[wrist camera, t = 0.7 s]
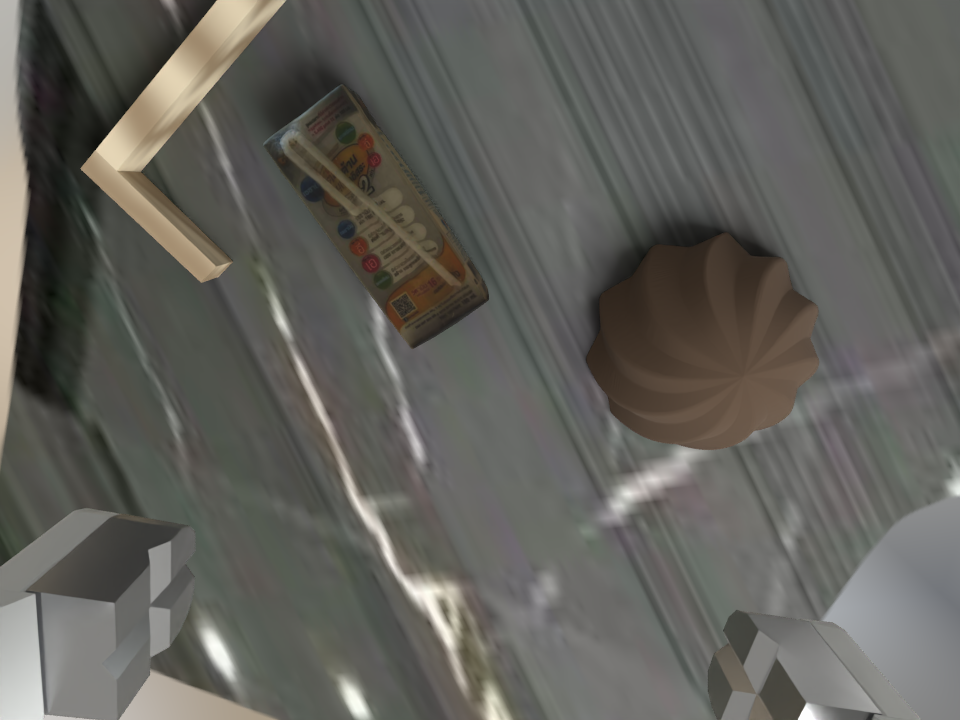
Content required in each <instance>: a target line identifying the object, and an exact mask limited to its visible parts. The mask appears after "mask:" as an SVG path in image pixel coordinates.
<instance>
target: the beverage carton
mask: <svg viewBox="0 0 960 720" xmlns="http://www.w3.org/2000/svg"><path fill="white" fill-rule="evenodd" d="M263 147H264V148H265V149H266V150H267V152H268V153H269V154H270V156H271V157H272V159H273V160H274V162H275V163H276V165H277V166H278V168H279V169H280V171H281V173H282V174H283V175H284V176H285V178H286V179H287V180H288V181H289V183H290V184H291V186H292V187H293V189H294V190H295V191H296V193H297V194H298V196H299V197H300V199H301V200H302V201H303V203H304V204H305V205H306V207H307V208H308V209H309V211H310V212H311V214H312V215H313V216H314V218H315V219H316V221H317V222H318V223H319V225H320V226H321V227H322V229H323V230H324V232H325V233H326V234H327V236H328V237H329V239H330V240H331V241H332V243H333V244H334V245H335V247H336V248H337V250H338V251H339V253H340V254H341V255H342V257H343V258H344V259H345V261H346V262H347V264H348V265H349V266H350V268H351V269H352V270H353V272H354V273H355V275H356V276H357V277H358V279H359V280H360V281H361V283H362V284H363V285H364V287H365V288H366V290H367V291H368V292H369V294H370V295H371V296H372V298H373V299H374V300H375V302H376V303H377V304H378V306H379V307H380V308H381V310H382V311H383V312H384V314H385V315H386V317H387V318H388V319H389V321H390V322H391V323H392V324H393V325H394V327H395V328H396V329H397V331H398V332H399V333H400V335H401V336H402V337H403V339H404V340H405V341H406V342H407V344H408V345H409V346H410V348H411V349H414V348H416V347H417V346H419V345H421V344H423V343H425V342H426V341H428V340H430V339H432V338H433V337H435V336H437V335H438V334H440V333H442V332H443V331H445V330H446V329H448V328H449V327H451V326H452V325H454V324H456V323H457V322H459V321H460V320H462V319H463V318H464V317H466V316H467V315H469V314H470V313H472V312H473V311H474V310H476V309H477V308H479V307H480V306H481V305H483V304H484V303H486V302H487V301H488V300H489V294H488V289H487V286H486V284H485V282H484V281H483V279H482V278H481V276H480V274H479V272H478V271H477V269H476V268H475V266H474V265H473V263H472V262H471V260H470V258H469V257H468V256H467V254H466V252H465V251H464V249H463V248H462V246H461V245H460V243H459V242H458V240H457V239H456V237H455V236H454V234H453V233H452V231H451V230H450V228H449V227H448V225H447V224H446V222H445V221H444V220H443V218H442V216H441V215H440V213H439V212H438V210H437V209H436V208H435V206H434V205H433V203H432V202H431V200H430V199H429V197H428V196H427V194H426V193H425V191H424V190H423V188H422V187H421V185H420V184H419V182H418V181H417V179H416V178H415V176H414V175H413V174H412V172H411V171H410V169H409V168H408V167H407V165H406V164H405V162H404V161H403V160H402V158H401V157H400V155H399V154H398V153H397V151H396V150H395V149H394V147H393V146H392V144H391V143H390V141H389V140H388V139H387V137H386V136H385V135H384V133H383V132H382V131H381V130H380V129H379V128H378V126H377V125H376V123H375V121H374V120H373V118H372V116H371V115H370V113H369V111H368V110H367V108H366V106H365V105H364V103H363V101H362V99H361V98H360V97H359V96H358V95H357V94H356V93H355V92H353V91H351V90H349V89H348V88H347V87H346V86H345V85H343V84H341V85H339V86H338V87H336V88H335V89H334V90H332V91H331V92H330V93H328V94H327V95H326V96H324V97H323V98H322V99H321V100H319V101H318V102H317V103H316V104H314V105H313V106H312V107H311V108H309V109H308V110H307V111H306V112H304V113H303V114H302V115H300V116H299V117H297V118H296V119H294V120H293V121H292V122H290V123H289V124H288V125H286V126H285V127H283V128H282V129H280V130H279V131H278V132H277V133H275V134H274V135H272V136H271V137H270V138H269V139H267V140H266V141H265V142H264V144H263Z"/></svg>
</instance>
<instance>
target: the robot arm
mask: <svg viewBox="0 0 960 720" xmlns="http://www.w3.org/2000/svg"><path fill="white" fill-rule="evenodd" d="M194 552H195V531H194V530H193V529H192V528H191V527H190V526H188V525H183V524H177V523H172V522H166V521H160V520H155V519H149V518H143V517H138V516H132V515H126V514H117V513H113V512H107V511H101V510H95V509H89V508H84V509H80V510H75V511H73V512H72V513H70V514H69V515H68V516H66V517H65V518H64V519H62V520H61V521H60V522H59V523H57V524H56V525H55V526H53V527H52V528H51V529H49V530H48V531H47V532H45V533H44V534H43V535H42V536H40V537H39V538H38V539H36V540H35V541H34V542H32V543H31V544H30V545H28V546H27V547H26V548H25V549H23V550H22V551H21V552H19V553H18V554H17V555H15V556H14V557H13V558H11V559H10V560H9V561H8V562H6V563H5V564H4V565H2V566H1V567H0V720H43V719H44V714H45V715H55V716H65V717H76V718H86V719H96V720H119V719H120V717H121V715H122V714H123V713H124V711H125V710H126V708H127V707H128V706H129V704H130V703H131V701H132V700H133V698H134V697H135V696H136V694H137V692H138V691H139V690H140V688H141V687H142V686H143V684H144V682H145V681H146V679H147V678H148V677H149V675H150V657H152V656H154V655H156V654H157V653H159V652H161V651H163V650H164V649H166V648H168V647H169V646H170V645H171V643H172V642H173V640H174V639H175V637H176V636H177V634H178V633H179V631H180V630H181V628H182V626H183V623H184V621H185V619H186V616H187V614H188V612H189V609H190V606H191V602H192V597H193V593H194V578H195V576H194V575H193V574H192V572H191V571H190V569H189V568H188V567H187V565H186V564H185V563H186V562H187V561H188V559H189V558H190V557H191V556H192V554H193V553H194ZM723 631H724V634H725V636H726V639H727V641H728V644H727V645H725V646H724V647H722V648H721V649H720V650H718V651H717V652H715V653H714V655H713V658H712V661H711V664H710V667H709V670H708V693H709V698H710V702H711V706H712V709H713V711H714V713H715V716H716V718H717V720H921V719H920V718H919V717H918V715H917V714H916V713H915V712H914V711H913V710H912V708H911V707H910V706H909V705H908V704H907V702H906V701H905V700H904V699H903V698H902V697H901V695H900V694H899V693H898V692H897V691H896V690H895V688H894V687H893V686H892V685H891V684H890V683H889V681H888V680H887V679H886V678H885V677H884V676H883V674H882V673H881V672H880V671H879V670H878V669H877V667H876V666H875V665H874V664H873V663H872V662H871V660H870V659H869V658H868V657H867V656H866V655H865V653H864V652H863V651H862V650H861V649H860V647H859V646H858V645H857V644H856V643H855V642H854V641H853V639H852V638H851V637H850V636H849V635H848V634H847V632H846V631H845V630H844V629H842V628H841V627H839V626H837V625H836V624H834V623H832V622H824V621H816V620H808V619H793V618H786V617H780V616H773V615H766V614H759V613H753V612H746V611H739V610H736V611H735V612H734V613H733V614H732V615H731V616H730V617H729V618H728V620H727V623H726V625H725V627H724V630H723Z"/></svg>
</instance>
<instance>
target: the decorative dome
mask: <svg viewBox="0 0 960 720" xmlns="http://www.w3.org/2000/svg"><path fill="white" fill-rule="evenodd" d="M599 312H600V332H599V333H598V335H597V337H596V339H595V341H594V343H593V345H592V347H591V349H590V351H589V353H588V355H587V358H586V361H587V364H588V366H589V368H590V370H591V373H592V374H593V376H594V378H595V380H596V381H597V383H598V384H599V386H600V387H601V389H602V390H603V391H604V392H605V393H606V394H607V395H608V399H609V405H610V411H611V413H612V414H613V415H614V416H615V417H616V418H617V419H618V420H619V421H620V422H622V423H623V424H624V425H625V426H627V427H628V428H630V429H631V430H632V431H634V432H636V433H637V434H639V435H641V436H643V437H645V438H648V439H650V440H654V441H657V442H662V443H669V444H678V445H681V446H685V447H689V448H694V449H702V450H715V449H722V448H727V447H730V446H733V445H735V444H738V443H740V442H742V441H743V440H745V439H746V438H747V437H748V436H749V435H750V434H751V433H752V432H753V431H756V430H761V429H764V428H768V427H771V426H773V425H775V424H777V423H779V422H780V421H782V420H783V419H785V418H786V417H787V416H788V415H789V414H790V412H791V411H792V409H793V406H794V401H795V397H796V393H797V389H798V388H799V387H800V386H801V385H802V384H803V383H804V382H805V381H807V380H808V379H809V378H810V377H811V376H812V375H813V374H814V373H815V372H816V370H817V368H818V366H819V359H818V357H817V354H816V352H815V349H814V347H813V344H812V342H811V339H810V337H811V334H812V331H813V328H814V325H815V322H816V319H817V316H818V307H817V305H816V304H815V303H814V302H812V301H810V300H808V299H807V298H805V297H804V296H802V295H800V294H799V293H797V292H796V291H794V290H793V288H792V284H791V280H790V276H789V271H788V265H787V263H786V261H785V260H784V259H783V258H780V257H758V256H751V255H749V254H748V253H747V252H746V250H745V249H744V248H743V247H742V246H741V245H740V244H739V243H738V242H737V241H736V240H735V239H734V238H733V237H732V236H731V235H730V234H729V233H726V232H725V233H722V234H720V235H717V236H715V237H713V238H710V239H708V240H706V241H704V242H702V243H699V244H697V245H695V246H692V247H682V246H672V245H661V244H658V245H654V246H653V247H651V248H650V250H649V251H648V253H647V254H646V256H645V257H644V259H643V260H642V262H641V263H640V265H639V266H638V268H637V269H636V271H635V272H634V274H633V275H632V276H631V277H630V278H628V279H626V280H624V281H623V282H621V283H619V284H617V285H615V286H614V287H612V288H610V289H608V290H607V291H605V292H603V293H602V294H601V296H600V299H599Z"/></svg>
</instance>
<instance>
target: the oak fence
mask: <svg viewBox="0 0 960 720" xmlns="http://www.w3.org/2000/svg"><path fill="white" fill-rule="evenodd" d="M285 1H286V0H217V1H216V2H215V4H214V5H213V6H212V7H211V9H210V10H209V11H208V12H207V13H206V15H205V16H204V17H203V18H202V20H201V21H200V22H199V23H198V25H197V26H196V27H195V28H194V29H193V31H192V32H191V33H190V34H189V36H188V37H187V38H186V39H185V41H184V42H183V43H182V44H181V45H180V47H179V48H178V49H177V50H176V52H175V53H174V54H173V55H172V57H171V58H170V59H169V60H168V62H167V63H166V64H165V65H164V66H163V68H162V69H161V70H160V71H159V73H158V74H157V75H156V76H155V78H154V79H153V80H152V81H151V82H150V84H149V85H148V86H147V87H146V89H145V90H144V91H143V92H142V94H141V95H140V96H139V97H138V98H137V100H136V101H135V102H134V103H133V105H132V106H131V107H130V108H129V110H128V111H127V112H126V113H125V114H124V116H123V117H122V118H121V119H120V121H119V122H118V123H117V124H116V126H115V127H114V128H113V129H112V130H111V132H110V133H109V134H108V135H107V137H106V138H105V139H104V140H103V142H102V143H101V144H100V145H99V146H98V148H97V149H96V150H95V151H94V153H93V154H92V155H91V156H90V158H89V159H88V160H87V161H86V163H85V164H84V165H83V166H82V167H81V170H82V171H83V172H84V173H85V174H87V175H88V176H89V177H90V178H91V179H92V180H93V181H94V182H95V183H96V184H97V185H98V186H99V187H100V188H101V189H102V190H104V191H105V192H106V193H107V194H108V195H109V196H110V197H111V198H112V199H113V200H114V201H115V202H116V203H117V204H118V205H119V206H120V207H122V208H123V209H124V210H125V211H126V212H127V213H128V214H129V215H130V216H131V217H132V218H133V219H134V220H135V221H136V222H137V223H139V224H140V225H141V226H142V227H143V228H144V229H145V230H146V231H147V232H148V233H149V234H150V235H151V236H152V237H153V238H154V239H155V240H157V241H158V242H159V243H160V244H161V245H162V246H163V247H164V248H165V249H166V250H167V251H168V252H169V253H170V254H171V255H172V256H173V257H175V258H176V259H177V260H178V261H179V262H180V263H181V264H182V265H183V266H184V267H185V268H186V269H187V270H188V271H189V272H190V273H192V274H193V275H194V276H195V277H196V278H197V279H198V280H199V281H200V282H201V283H202V282H205V281H208V280H210V279H213V278H216V277H219V276H220V275H221V274H222V273H223V272H224V271H225V270H226V269H227V267H228V266H229V265H230V264H231V263H232V262H233V261H232V260H231V259H230V258H229V257H228V256H227V255H226V254H225V253H224V252H223V251H222V250H221V249H220V248H219V247H218V246H217V245H216V244H215V243H213V242H212V241H211V240H210V239H209V238H208V237H207V236H206V235H205V234H204V233H203V232H202V231H201V230H200V229H199V228H198V227H197V226H196V225H195V224H194V223H193V222H192V221H191V220H190V219H189V218H188V217H187V216H186V215H185V214H184V213H183V212H182V211H181V210H180V209H178V208H177V207H176V206H175V205H174V204H173V203H172V202H171V201H170V200H169V199H168V198H167V197H166V196H165V195H164V194H163V193H162V192H161V191H160V190H159V189H158V188H157V187H156V186H155V185H154V184H153V183H152V182H151V181H150V180H149V179H148V178H147V177H146V176H145V175H143V174H142V173H141V171H142V170H143V168H144V167H145V166H146V165H147V164H148V162H149V161H150V160H151V159H152V158H153V157H154V155H155V154H156V153H157V152H158V151H159V149H160V148H161V147H162V146H163V145H164V144H165V142H166V141H167V140H168V139H169V138H170V137H171V135H172V134H173V133H174V132H175V131H176V129H177V128H178V127H179V126H180V125H181V124H182V122H183V121H184V120H185V119H186V118H187V116H188V115H189V114H190V113H191V112H192V111H193V109H194V108H195V107H196V106H197V105H198V104H199V102H200V101H201V100H202V99H203V98H204V96H205V95H206V94H207V93H208V92H209V91H210V89H211V88H212V87H213V86H214V85H215V83H216V82H217V81H218V80H219V79H220V78H221V76H222V75H223V74H224V73H225V72H226V71H227V69H228V68H229V67H230V66H231V65H232V63H233V62H234V61H235V60H236V59H237V58H238V56H239V55H240V54H241V53H242V52H243V51H244V49H245V48H246V47H247V46H248V45H249V43H250V42H251V41H252V40H253V39H254V38H255V36H256V35H257V34H258V33H259V32H260V30H261V29H262V28H263V27H264V26H265V25H266V23H267V22H268V21H269V20H270V19H271V18H272V16H273V15H274V14H275V13H276V12H277V10H278V9H279V8H280V7H281V6H282V5H283V3H284V2H285Z"/></svg>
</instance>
